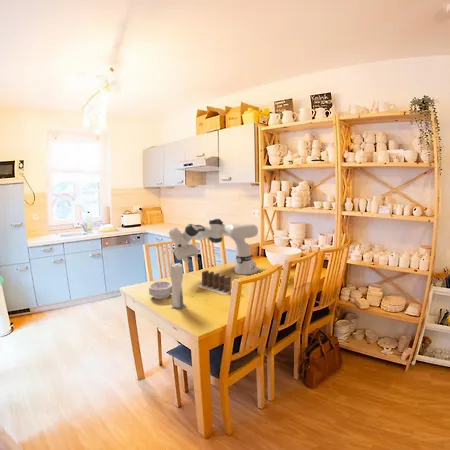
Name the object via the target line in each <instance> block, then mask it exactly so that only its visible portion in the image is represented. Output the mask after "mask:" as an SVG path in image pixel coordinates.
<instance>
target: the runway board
mask: <svg viewBox="0 0 450 450" xmlns="http://www.w3.org/2000/svg"><path fill="white" fill-rule="evenodd" d="M196 288H201V289H205V290H207V291H210V292H211V291H212V292H215V293H218V294H222V295H224V296H226V295H228V294H230V293H232V292H231V291H228V292H224V290H221V291H219V290H218V288H217V289H213V286H212V287H210V288H209V287H207V285H206V286H202V283H201V284H199V285H196ZM231 289H233V288H232V287H231Z"/></svg>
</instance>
